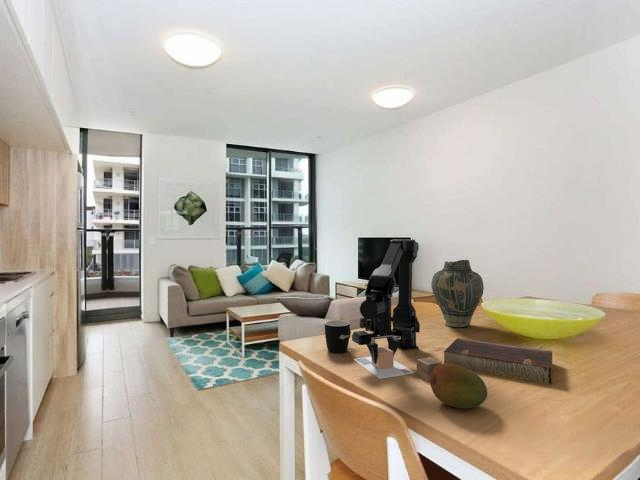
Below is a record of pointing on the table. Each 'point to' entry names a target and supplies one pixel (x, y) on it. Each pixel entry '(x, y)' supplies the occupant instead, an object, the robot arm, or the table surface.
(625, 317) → the table surface
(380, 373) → the envelope
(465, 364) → the hardback book
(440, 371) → the fruit
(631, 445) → the table surface
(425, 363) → the walnut block
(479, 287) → the vase
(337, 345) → the mug
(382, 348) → the block
